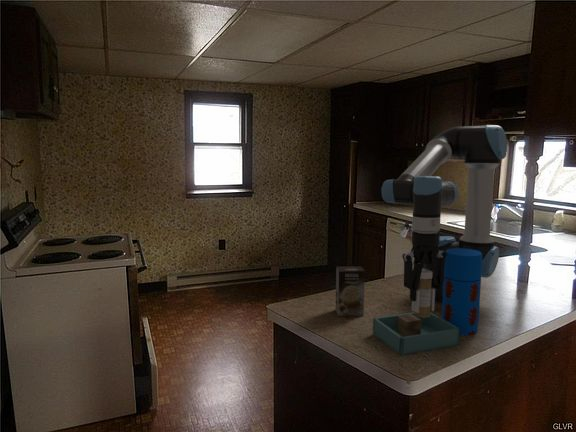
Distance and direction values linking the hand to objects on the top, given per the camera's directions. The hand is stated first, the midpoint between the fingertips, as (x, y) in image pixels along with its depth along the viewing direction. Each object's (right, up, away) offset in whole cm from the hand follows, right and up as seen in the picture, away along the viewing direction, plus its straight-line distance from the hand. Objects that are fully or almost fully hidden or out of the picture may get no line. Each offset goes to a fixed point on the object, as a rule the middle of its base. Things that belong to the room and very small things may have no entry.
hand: (422, 310), depth 124 cm
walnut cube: (-2, -9, +8) cm, 12 cm away
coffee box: (-17, -7, +27) cm, 33 cm away
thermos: (+16, -9, +12) cm, 22 cm away
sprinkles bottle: (0, -2, 0) cm, 2 cm away
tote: (-1, -10, +5) cm, 11 cm away
